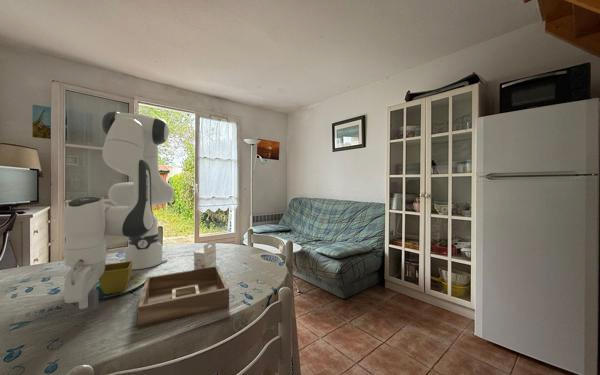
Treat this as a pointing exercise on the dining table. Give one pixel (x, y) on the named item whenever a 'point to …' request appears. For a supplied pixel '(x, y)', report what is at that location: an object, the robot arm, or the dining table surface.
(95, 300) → the plain grey cube
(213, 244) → the ink cartridge box
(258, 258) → the dining table surface
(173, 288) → the walled box
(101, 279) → the flower pot
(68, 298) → the robot arm
